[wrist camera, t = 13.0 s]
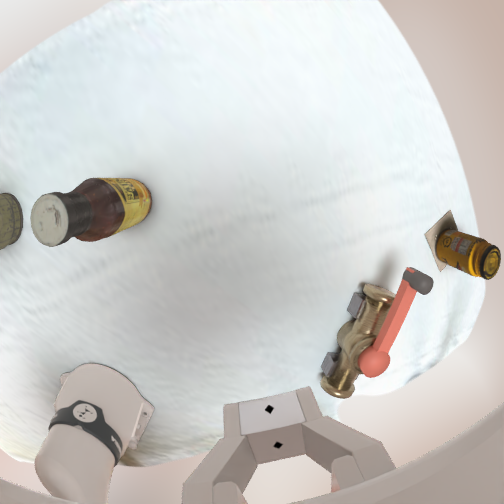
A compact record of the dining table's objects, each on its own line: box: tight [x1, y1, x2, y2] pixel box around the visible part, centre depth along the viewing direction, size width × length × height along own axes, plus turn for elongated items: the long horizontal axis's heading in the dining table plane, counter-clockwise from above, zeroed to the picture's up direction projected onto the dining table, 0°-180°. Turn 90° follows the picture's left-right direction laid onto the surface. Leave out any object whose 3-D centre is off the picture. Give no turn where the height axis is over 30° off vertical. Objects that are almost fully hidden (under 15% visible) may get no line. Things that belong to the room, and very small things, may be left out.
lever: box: [358, 267, 433, 378], centre depth 34 cm, size 4×16×4 cm, turn 163°
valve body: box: [320, 284, 396, 399], centre depth 41 cm, size 18×6×7 cm, turn 163°
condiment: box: [425, 210, 501, 280], centre depth 37 cm, size 7×8×12 cm
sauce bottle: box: [31, 178, 152, 247], centre depth 27 cm, size 6×6×20 cm
